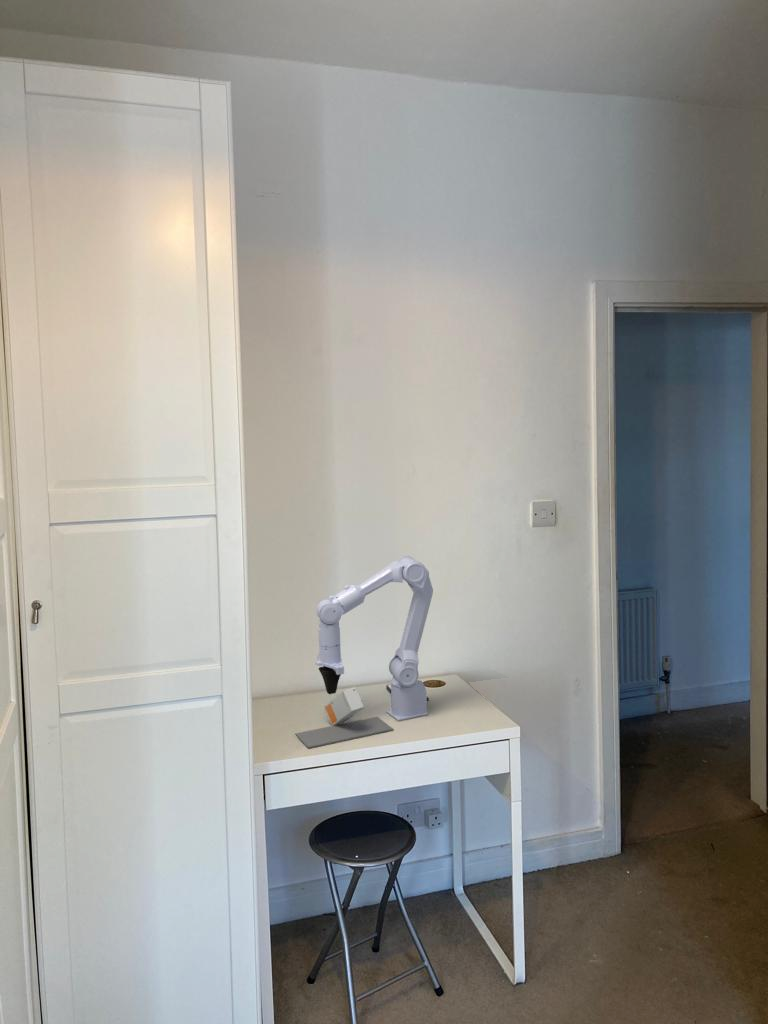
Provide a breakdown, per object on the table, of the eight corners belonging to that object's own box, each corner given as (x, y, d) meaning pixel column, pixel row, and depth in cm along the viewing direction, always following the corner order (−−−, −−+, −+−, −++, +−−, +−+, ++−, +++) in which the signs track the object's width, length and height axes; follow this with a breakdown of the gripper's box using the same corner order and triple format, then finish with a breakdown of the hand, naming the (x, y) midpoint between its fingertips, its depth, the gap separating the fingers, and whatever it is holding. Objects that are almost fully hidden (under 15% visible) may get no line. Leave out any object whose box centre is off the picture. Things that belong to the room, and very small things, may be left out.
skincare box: (323, 706, 212) (342, 689, 204) (335, 702, 215) (355, 685, 207) (331, 727, 210) (351, 711, 202) (344, 723, 213) (364, 707, 205)
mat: (377, 718, 215) (377, 716, 215) (393, 730, 206) (393, 728, 206) (295, 735, 205) (295, 733, 205) (308, 749, 196) (308, 747, 196)
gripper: (306, 640, 215) (308, 687, 217) (325, 653, 202) (327, 703, 204) (330, 636, 219) (331, 683, 220) (350, 649, 206) (352, 699, 207)
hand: (331, 692), depth 212 cm, fingers closed
